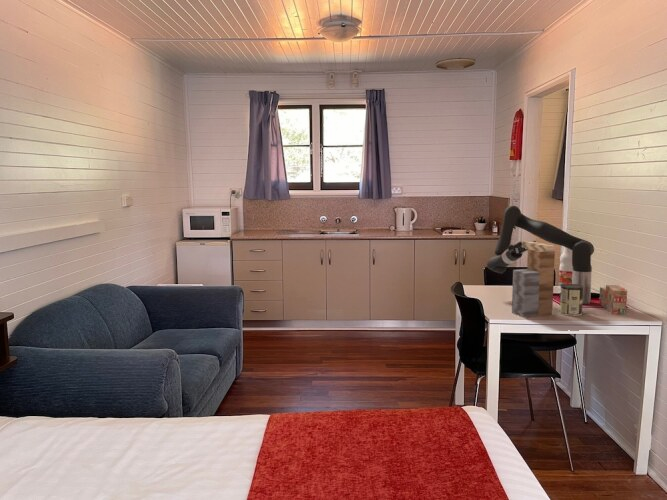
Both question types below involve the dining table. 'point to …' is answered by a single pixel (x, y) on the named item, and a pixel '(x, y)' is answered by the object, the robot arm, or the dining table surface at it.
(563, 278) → the fruit juice
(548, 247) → the birch bar
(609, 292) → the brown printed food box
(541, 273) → the stepped stand
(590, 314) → the dining table surface
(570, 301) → the coffee can
